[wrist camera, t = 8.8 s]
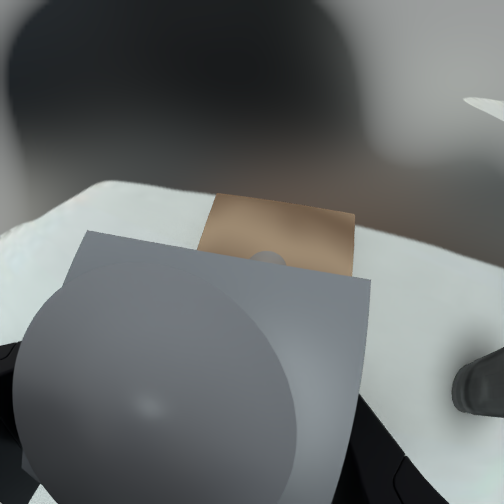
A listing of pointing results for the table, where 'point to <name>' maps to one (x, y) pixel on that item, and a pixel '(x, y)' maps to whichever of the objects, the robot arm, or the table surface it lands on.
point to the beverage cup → (481, 386)
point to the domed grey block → (189, 378)
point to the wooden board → (280, 233)
